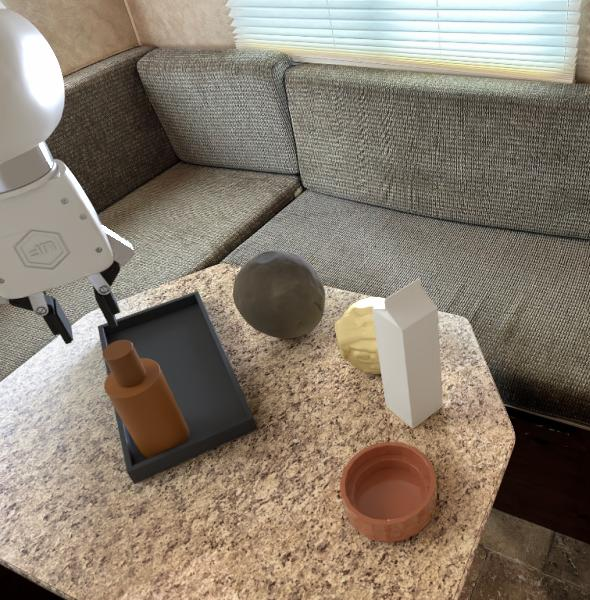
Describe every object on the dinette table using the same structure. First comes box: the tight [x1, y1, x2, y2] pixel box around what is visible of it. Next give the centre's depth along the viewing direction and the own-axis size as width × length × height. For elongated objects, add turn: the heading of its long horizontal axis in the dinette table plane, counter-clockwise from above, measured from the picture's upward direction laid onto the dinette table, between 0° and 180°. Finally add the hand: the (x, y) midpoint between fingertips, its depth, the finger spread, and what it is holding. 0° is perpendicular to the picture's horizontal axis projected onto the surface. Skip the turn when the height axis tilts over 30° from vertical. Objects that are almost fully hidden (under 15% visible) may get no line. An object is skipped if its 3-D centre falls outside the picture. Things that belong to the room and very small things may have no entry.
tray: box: [97, 290, 259, 485], centre depth 96 cm, size 18×35×3 cm, turn 28°
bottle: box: [102, 340, 190, 459], centre depth 81 cm, size 7×7×18 cm
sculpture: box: [334, 296, 386, 375], centre depth 93 cm, size 11×12×11 cm
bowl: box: [339, 441, 438, 543], centre depth 75 cm, size 12×12×4 cm
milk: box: [372, 278, 444, 430], centre depth 81 cm, size 6×6×22 cm
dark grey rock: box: [232, 249, 326, 340], centre depth 99 cm, size 14×14×15 cm
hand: (90, 326), depth 62 cm, fingers open, 3 cm apart
